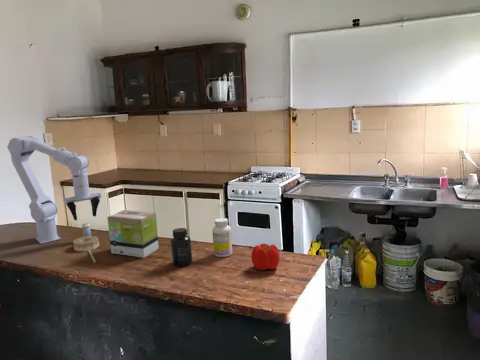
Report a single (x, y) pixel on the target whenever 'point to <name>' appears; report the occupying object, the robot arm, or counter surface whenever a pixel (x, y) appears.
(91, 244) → the bead
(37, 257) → the counter surface
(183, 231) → the supplement bottle
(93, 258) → the strip
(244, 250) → the counter surface
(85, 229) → the white-tipped blue cylinder
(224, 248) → the supplement bottle
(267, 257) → the red bell pepper
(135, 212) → the tea box
